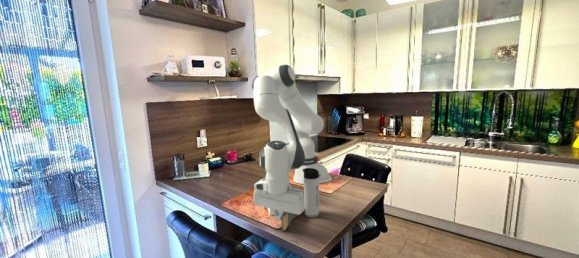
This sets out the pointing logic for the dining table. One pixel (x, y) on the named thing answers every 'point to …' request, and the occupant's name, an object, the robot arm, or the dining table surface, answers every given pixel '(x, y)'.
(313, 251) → the dining table surface
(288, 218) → the side door
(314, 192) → the travel mug
